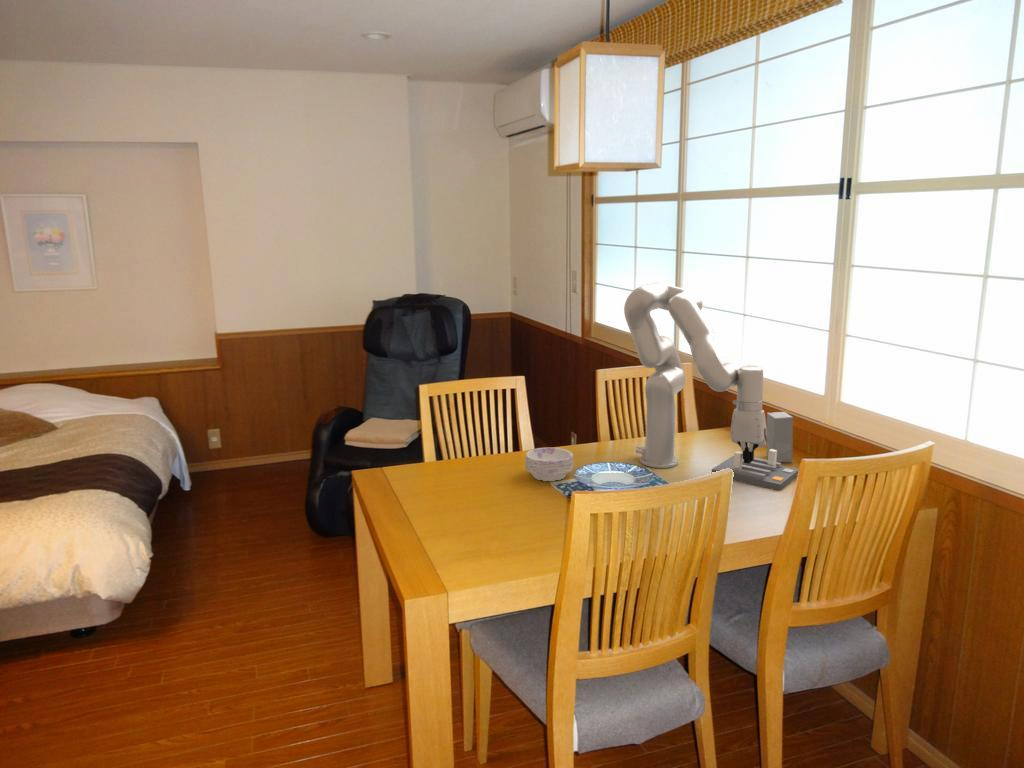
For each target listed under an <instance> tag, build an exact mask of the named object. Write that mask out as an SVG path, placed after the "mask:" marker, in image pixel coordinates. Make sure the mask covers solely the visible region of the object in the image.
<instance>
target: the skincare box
mask: <svg viewBox="0 0 1024 768" xmlns="http://www.w3.org/2000/svg"><path fill="white" fill-rule="evenodd" d="M766 431H767V434H766V452H765V453H766V454H765V455H766V457H768V453H769V450H770V449H774V450H777V459H776V462H778V463H793V451H794V449H793V443H794V442H793V441H794V435H793V434H794V416H792V415H790V414H789V413H787V412H786V411H775V412H767V413H766Z"/></svg>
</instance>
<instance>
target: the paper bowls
mask: <svg viewBox="0 0 1024 768" xmlns="http://www.w3.org/2000/svg"><path fill="white" fill-rule="evenodd" d="M524 465H525V470H526V471H527V472H529V473H531V475H532V477H533V478H534V479H535V480H538V481H540V480H543V481H542V482H546V481H553V482H556V481H555V480H559V481H562V480H563V479H564V478H565V477H566V476H567V474H568V473H570V472H572V471H573V469H574V454H573V452H572V451H570V450H568V449H565V448H559V447H552V446H551V447H550V446H549V447H537V448H533V449H530V450H528V451H526V453H525V462H524ZM561 479H562V480H561Z"/></svg>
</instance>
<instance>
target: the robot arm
mask: <svg viewBox="0 0 1024 768" xmlns="http://www.w3.org/2000/svg"><path fill="white" fill-rule="evenodd" d="M623 308H624V309H623V313H624V317H625V322H626V324H627V326H628V329H629V332H630V335H631V339H632V341H633V345H634V347H635V350H636V354H637V357H638V359H639V361H640V363H641V365H642V366H643V367H645V368H647V369H654V370H655V371H654V372H653V373H652V374H650V375H649V376H648V378H647V379H646V381H645V385H644V388H645V389H644V394H645V400H646V401H645V402H646V404H645V405H646V415H645V416H646V417H645V419H646V421H645V422H646V423H645V444H644V445H645V446H642V445H636V446H635V453H637V454H641V456H640V459H639V461H640V463H641V464H642V465H644V466H647V467H650V468H654V469H655V468H656V469H670V468H674V467H676V466H678V464H679V459H678V458H677V456H675V440H676V439H675V437H676V436H675V435H676V419H677V418H676V415H677V412H676V411H677V410H676V407H677V406H676V401H675V395H677V394H678V393H679V392H681V391H682V390H683V389H684V387H685V385H686V381H687V379H686V374H685V369H684V367H683V365H682V361H681V359H680V355H679V353H678V352H679V351H678V350H677V346H676V344H675V343H674V342H673V340H671V338H669V337H667V336H664V335H660V334H659V332H658V328H657V325H656V323H655V321H654V319H653V317H652V316H651V312H652V311H653V310H654V311H655V310H657V309H661V310H665V311H668V312H669V314H670V316H671V318H672V320H673V322H675V324H676V326H677V328H678V329H679V330H680V332H681V333H682V335H683V337H684V339H685V340H686V342H687V343H688V345H689V348H690V352H691V353H690V354H691V356H692V359H693V362H694V364H695V366H696V367H695V368H696V369H697V370H698V372H699V373H700V375H701V377H702V378H703V380H704V382H705V384H706V385H708V387H709V388H710V389H712V390H713V391H715V392H718V393H719V392H725V391H728V390H729V389H731V388H732V387H735V386H736V387H737V388H736V399H733V401H732V405H735V408H734V409H733V412H732V415H731V416H732V417H731V425H730V439H731V442H732V443H735V444H737V445H738V446H739V447H740V448H741V449H740V450H741V451H742V452H743V459H744V463H748V464H749V463H751V462H752V461H753V460H754V458H755V450H756V449H757V448H764V447H767V417H766V415H765V414H766V413H765V410H764V409H763V395H764V394H763V392H764V391H763V389H764V369H763V368H762V367H761V366H758V365H752V364H751V365H750V364H749V365H742V364H737V363H732V362H725V363H722V362H721V360H720V359H719V357H718V355H717V353H716V350H715V345H714V337H715V332H714V329H713V328H712V326H711V324H710V323H709V322H708V320H707V319H706V317H705V315H704V314H703V313H702V309H703V300H702V297H701V296H700V294H699V293H697V292H696V291H693V290H690V289H686V288H682V287H679V286H674V285H671V284H667V283H665V282H652V283H647V284H644V285H641V286H638V287H636V288H635V289H634V290H632V292H630V294H628V296H627V298H626V300H625V302H624V307H623Z"/></svg>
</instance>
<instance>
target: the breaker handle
mask: <svg viewBox="0 0 1024 768" xmlns="http://www.w3.org/2000/svg"><path fill="white" fill-rule="evenodd" d="M776 459H777V450H774V449H770V450H769V453H768V456H767V460H768V465H771V466H776Z"/></svg>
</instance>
